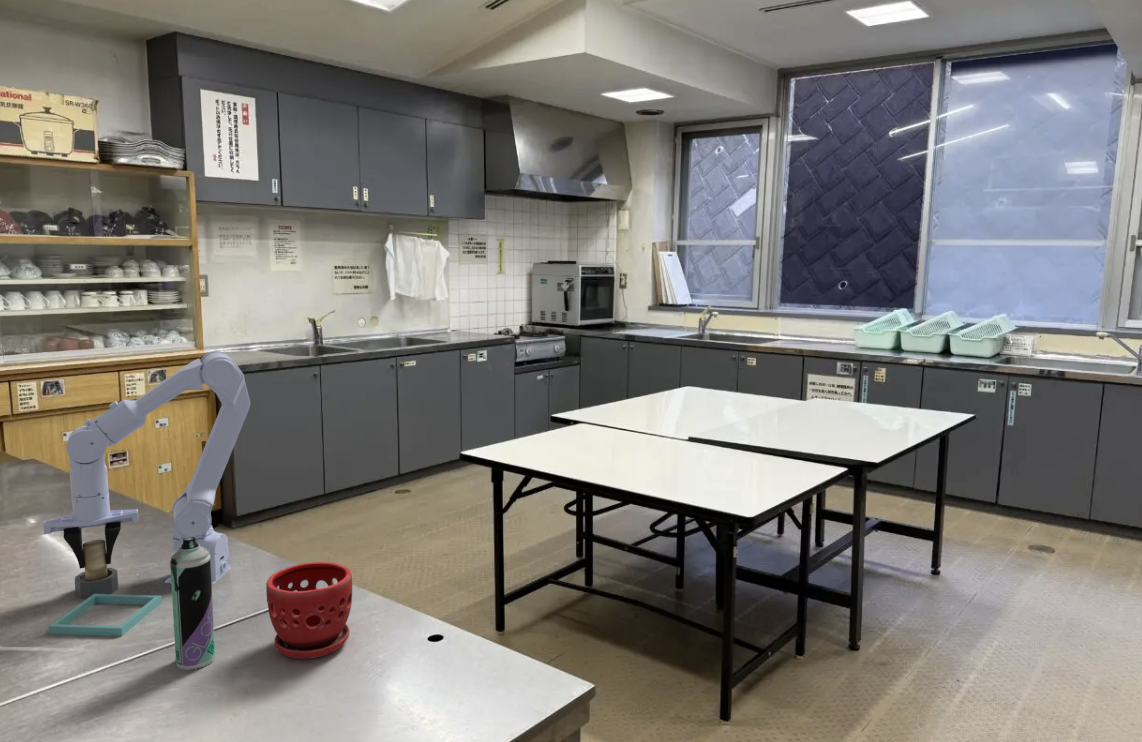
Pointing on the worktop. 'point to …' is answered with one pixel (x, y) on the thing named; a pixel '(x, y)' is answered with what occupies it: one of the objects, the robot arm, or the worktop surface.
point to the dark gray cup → (96, 584)
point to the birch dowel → (95, 560)
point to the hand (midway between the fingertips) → (95, 564)
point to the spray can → (192, 605)
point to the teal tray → (65, 628)
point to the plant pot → (310, 609)
